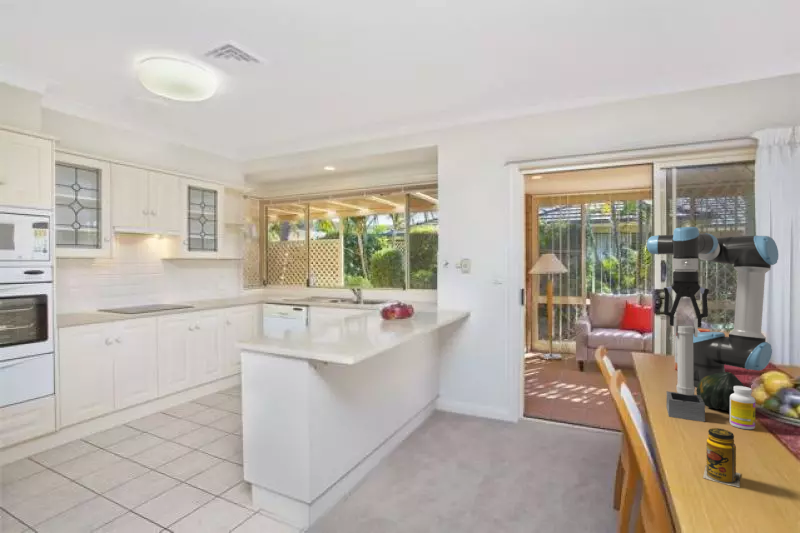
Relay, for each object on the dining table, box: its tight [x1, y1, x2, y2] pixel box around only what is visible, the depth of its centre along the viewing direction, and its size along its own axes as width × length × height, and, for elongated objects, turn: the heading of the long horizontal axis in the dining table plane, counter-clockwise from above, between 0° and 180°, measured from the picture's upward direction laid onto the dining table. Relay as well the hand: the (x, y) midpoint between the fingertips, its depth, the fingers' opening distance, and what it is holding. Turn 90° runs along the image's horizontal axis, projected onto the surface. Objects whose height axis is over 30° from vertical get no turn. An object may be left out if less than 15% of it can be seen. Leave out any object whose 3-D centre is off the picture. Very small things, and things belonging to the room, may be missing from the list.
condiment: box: [702, 427, 741, 488], centre depth 109 cm, size 7×8×12 cm
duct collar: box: [666, 391, 706, 422], centre depth 151 cm, size 10×10×6 cm
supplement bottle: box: [729, 385, 756, 431], centre depth 140 cm, size 7×7×13 cm
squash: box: [695, 371, 746, 413], centre depth 156 cm, size 14×15×15 cm
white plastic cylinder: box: [676, 310, 696, 395], centre depth 151 cm, size 6×6×30 cm
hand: (685, 335), depth 150 cm, fingers closed on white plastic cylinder, 5 cm apart
